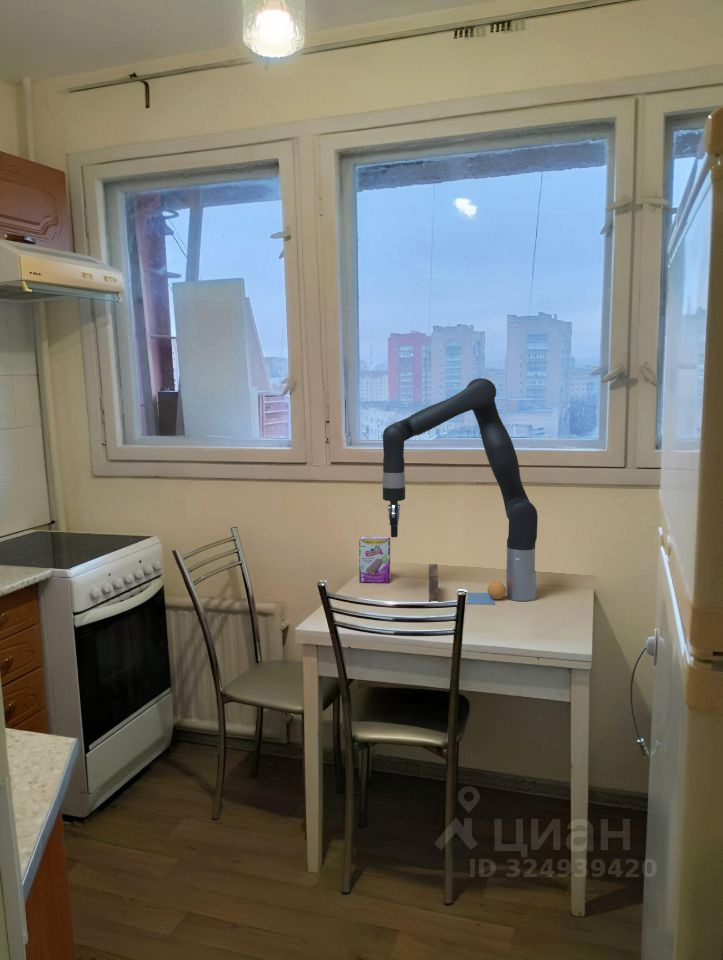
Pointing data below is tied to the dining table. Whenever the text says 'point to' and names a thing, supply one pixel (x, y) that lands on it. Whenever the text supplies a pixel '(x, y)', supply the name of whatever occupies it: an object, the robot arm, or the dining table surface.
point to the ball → (496, 590)
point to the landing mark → (479, 598)
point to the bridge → (433, 582)
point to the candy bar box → (374, 559)
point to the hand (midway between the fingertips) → (394, 536)
